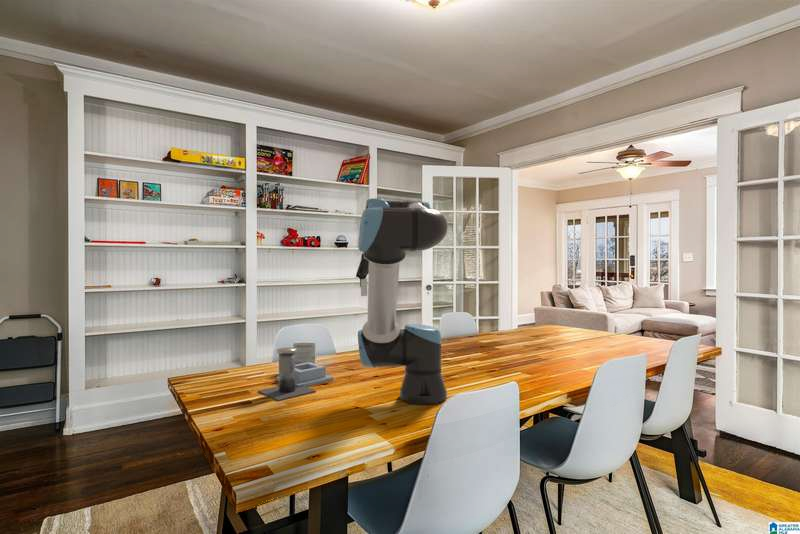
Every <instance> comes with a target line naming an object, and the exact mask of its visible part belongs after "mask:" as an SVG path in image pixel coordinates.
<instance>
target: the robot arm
mask: <svg viewBox="0 0 800 534" xmlns="http://www.w3.org/2000/svg"><path fill="white" fill-rule="evenodd" d="M365 204H366V205H365V209H364V210H363V211H362V214H361V217H360V223H359V224H360V225H359V232H358V233H359V234H358V240H357V241H358V245H357V247H358V251H360V252H362V253H361V256H360V257H361V260H360V262H359V264H358V265H359V266H358V267H357V272H355V273H356V274H355V278H358V279H359V287H360V297H367V321H366V322H365V323H364V324H363V327H362V329H360V330H358V331H357V344H358V352H359V354H358V355H359V359H360V363H361V365H362V366H363V367H365V368H381V367H382V368H383V367H384V368H386V367H388V368H389V367H404V376H403V380H402V384H401V387H400V390H399V399H400V400H401V401H403V402H406V403H407V404H413V405H420V406H421V405H422V406H423V405H426V406H427V405H437V404H439V402H440V403H442V401H443V402H445V401H446V400H447V399H448V398H447V397H448V393H447V392H448V391H447V388H446V385H445V382H444V379H443V375H442V344H443V343H442V336H441V335H442V334H441V331H440V330H439V328H437V327H434V326H431V325H425V324H419V323H406V324H405V325H404V328H400V326H399V325H398V323H397V322H396V321H397V307H398V306H397V305H398V304H397V303H398V288H399V275H400V274H399V273H400V263H401V262H404V260H405V258H406V254H407V253H406V252H421V251H426V250H429V249H431V248H433V247H435V246H438V245H439V243H441V242H442V241H443V240H444V239H445V236H446V235H447V232H448V228H449V227H448V221H447V219H446V216H445V215H444V214H443V213H442V212H440V210H437V209H434V208H431V206H430V203H429V201H422V200H410V201H409V200H405V201H404V200H402V201H401V200H385V199H384V198H375V197H374V198H373V197H372V198H368V199H366V203H365ZM367 278H368V279H367ZM444 400H445V401H444Z"/></svg>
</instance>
